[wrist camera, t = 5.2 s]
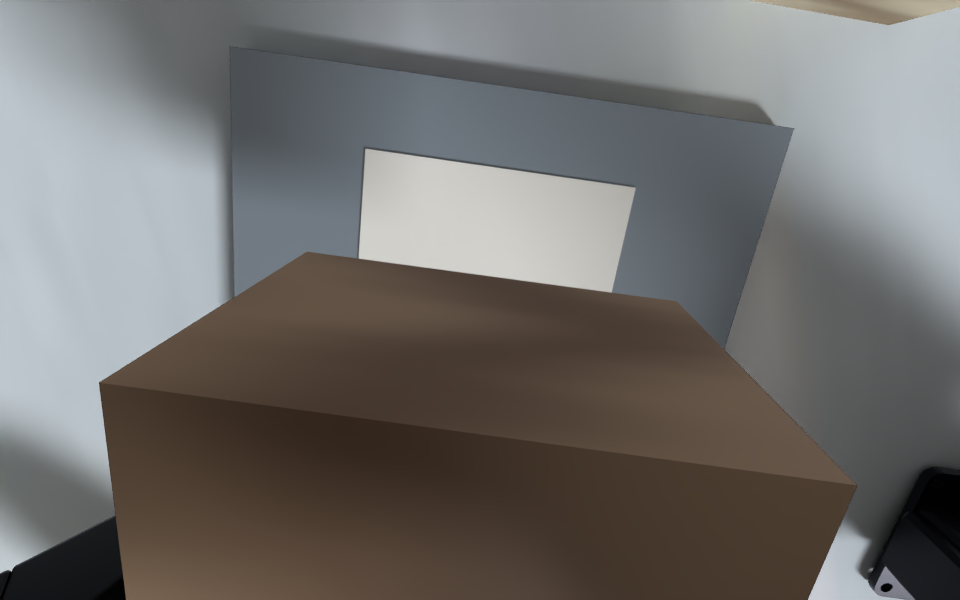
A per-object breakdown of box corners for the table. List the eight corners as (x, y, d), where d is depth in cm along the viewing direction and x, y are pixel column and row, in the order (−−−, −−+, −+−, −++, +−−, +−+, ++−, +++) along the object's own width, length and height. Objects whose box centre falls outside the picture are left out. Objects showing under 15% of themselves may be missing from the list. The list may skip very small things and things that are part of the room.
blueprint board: (778, 128, 17) (795, 128, 16) (671, 474, 22) (679, 491, 21) (244, 50, 17) (227, 45, 16) (248, 414, 22) (235, 428, 21)
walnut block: (676, 301, 8) (857, 485, 4) (591, 623, 11) (650, 959, 6) (307, 251, 8) (98, 382, 4) (300, 583, 11) (162, 891, 6)
